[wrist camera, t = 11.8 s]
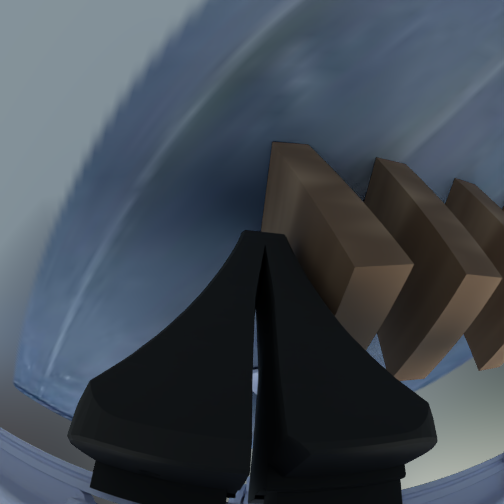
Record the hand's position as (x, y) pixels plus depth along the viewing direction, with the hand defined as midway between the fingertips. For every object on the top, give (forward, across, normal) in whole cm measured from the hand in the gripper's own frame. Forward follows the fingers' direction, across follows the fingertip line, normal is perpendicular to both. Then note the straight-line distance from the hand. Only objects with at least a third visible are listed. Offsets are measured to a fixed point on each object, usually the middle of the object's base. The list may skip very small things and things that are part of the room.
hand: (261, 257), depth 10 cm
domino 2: (+5, -6, 0) cm, 8 cm away
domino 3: (+5, -10, 0) cm, 12 cm away
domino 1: (+5, -1, 0) cm, 5 cm away
